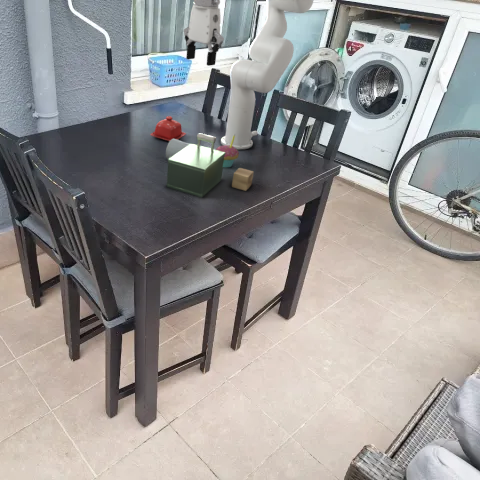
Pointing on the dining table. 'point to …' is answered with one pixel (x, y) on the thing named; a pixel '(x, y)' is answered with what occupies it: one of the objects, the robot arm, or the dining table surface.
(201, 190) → the box
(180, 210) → the dining table surface
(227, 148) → the cupcake
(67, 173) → the dining table surface
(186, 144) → the ceramic mug
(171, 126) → the butter dish
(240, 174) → the block
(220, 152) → the lid
